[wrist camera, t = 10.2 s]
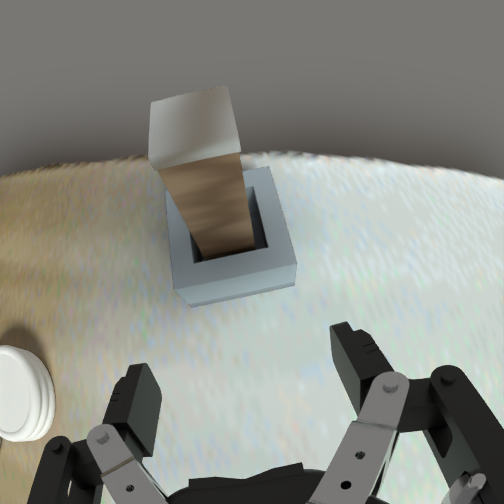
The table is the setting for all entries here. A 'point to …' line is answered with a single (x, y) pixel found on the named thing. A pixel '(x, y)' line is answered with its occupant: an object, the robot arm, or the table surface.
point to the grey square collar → (240, 265)
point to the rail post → (203, 168)
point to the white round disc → (24, 395)
